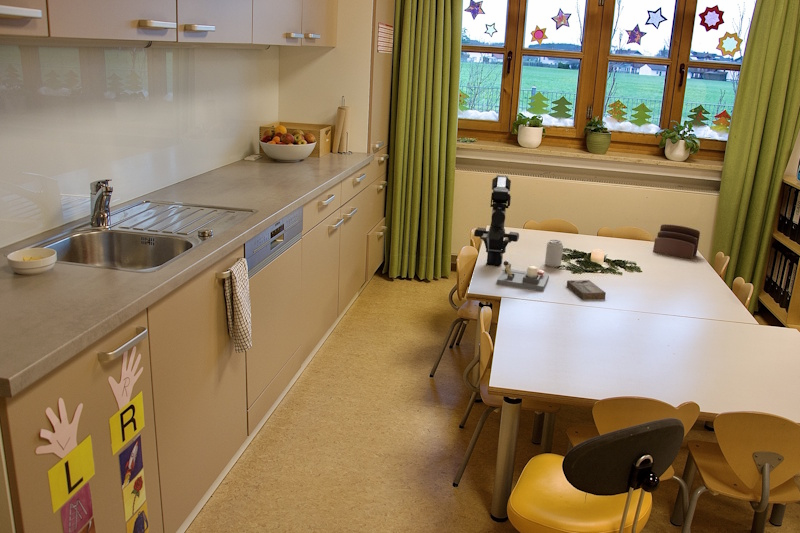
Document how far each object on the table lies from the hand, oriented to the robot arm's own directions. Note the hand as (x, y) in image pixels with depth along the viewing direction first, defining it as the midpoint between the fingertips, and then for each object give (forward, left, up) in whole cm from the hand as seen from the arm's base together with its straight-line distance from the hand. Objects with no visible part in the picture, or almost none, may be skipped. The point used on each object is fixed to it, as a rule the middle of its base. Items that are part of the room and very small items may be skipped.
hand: (494, 253), depth 325 cm
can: (+22, +35, -12) cm, 43 cm away
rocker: (+17, +9, -9) cm, 21 cm away
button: (+17, 0, -8) cm, 19 cm away
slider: (+5, +9, -10) cm, 14 cm away
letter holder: (+78, +87, -12) cm, 117 cm away
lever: (+8, 0, -10) cm, 13 cm away
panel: (+13, +4, -12) cm, 18 cm away
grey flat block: (+40, +2, -13) cm, 42 cm away
